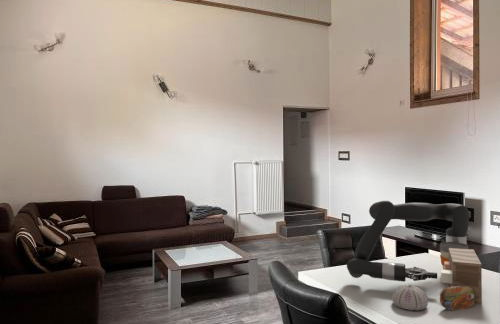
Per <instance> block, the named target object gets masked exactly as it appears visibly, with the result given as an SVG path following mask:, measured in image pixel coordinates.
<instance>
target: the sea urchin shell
mask: <svg viewBox="0 0 500 324" xmlns="http://www.w3.org/2000/svg"><path fill="white" fill-rule="evenodd" d="M391 299H392V303H393V304H394V305H395V306H397V307H399V308H401V309H404V310H408V311H420V310H424V309H426V308H427V307H428V304H429V301H430V300H429V297H428V295H427V294H426V293H425V291H423V290H422V289H421V288H419V287H417V286H415V285H413V284H405V285H404V284H403V285H401V286H399V287H397V289H396V290H394V292H393V294H392V296H391Z"/></svg>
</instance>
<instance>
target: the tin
mask: <svg viewBox="0 0 500 324" xmlns="http://www.w3.org/2000/svg"><path fill="white" fill-rule="evenodd" d="M475 300H476V294H475V291H474V289H473V288H471V287H469V286H465V285H460V286H454V287H450V286H447V287H445V288H443V289H441V292H440V293H439V302H440V305H441V306H442V307H443V308H444V309H446V310H448V311H451V312H452V311H453V312H454V311H458V310H459V311H460V310H464V309H465V310H466V309H470V308H471V307H473V306H474V303H475Z"/></svg>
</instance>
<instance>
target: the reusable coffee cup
mask: <svg viewBox="0 0 500 324" xmlns="http://www.w3.org/2000/svg"><path fill="white" fill-rule="evenodd" d="M449 248H458V249H469V245H468V244H467V245H466V244H463V243H458V242H446V241H443V242H440V243H439V250H440V251H439V252H440V254H439V256H440V263H441V265H442V270H444V261H447V262H449Z"/></svg>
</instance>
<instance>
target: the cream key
mask: <svg viewBox="0 0 500 324" xmlns="http://www.w3.org/2000/svg"><path fill="white" fill-rule="evenodd" d="M440 281H441V282H440V283H444V284H449V283H452V270H443V269H440Z"/></svg>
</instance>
